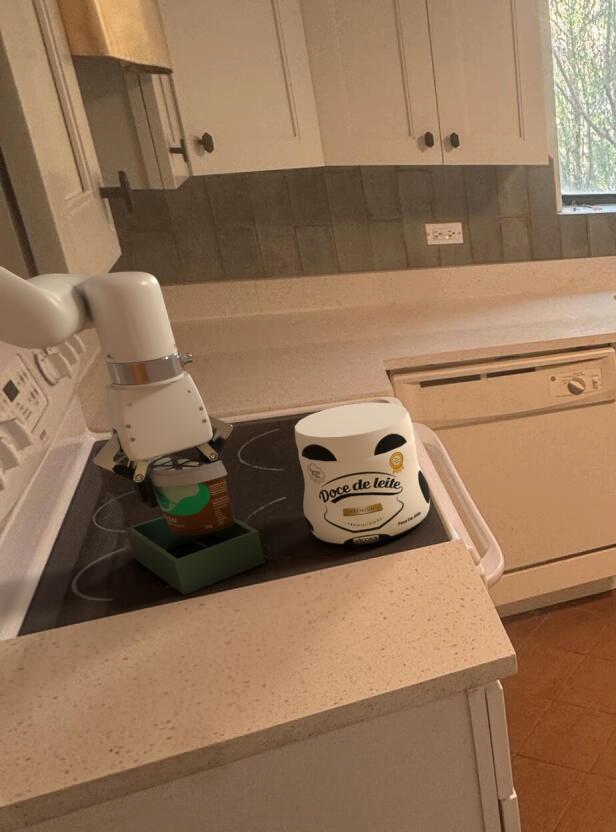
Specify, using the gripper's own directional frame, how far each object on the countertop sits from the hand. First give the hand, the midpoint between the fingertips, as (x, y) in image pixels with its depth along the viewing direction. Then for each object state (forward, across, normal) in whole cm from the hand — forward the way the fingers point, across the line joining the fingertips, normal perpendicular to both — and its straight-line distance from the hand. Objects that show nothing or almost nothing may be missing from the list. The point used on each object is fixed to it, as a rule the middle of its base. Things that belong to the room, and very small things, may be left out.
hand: (181, 494), depth 107 cm
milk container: (+11, -20, +10) cm, 25 cm away
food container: (+5, 0, 0) cm, 5 cm away
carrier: (+11, 0, 0) cm, 11 cm away
